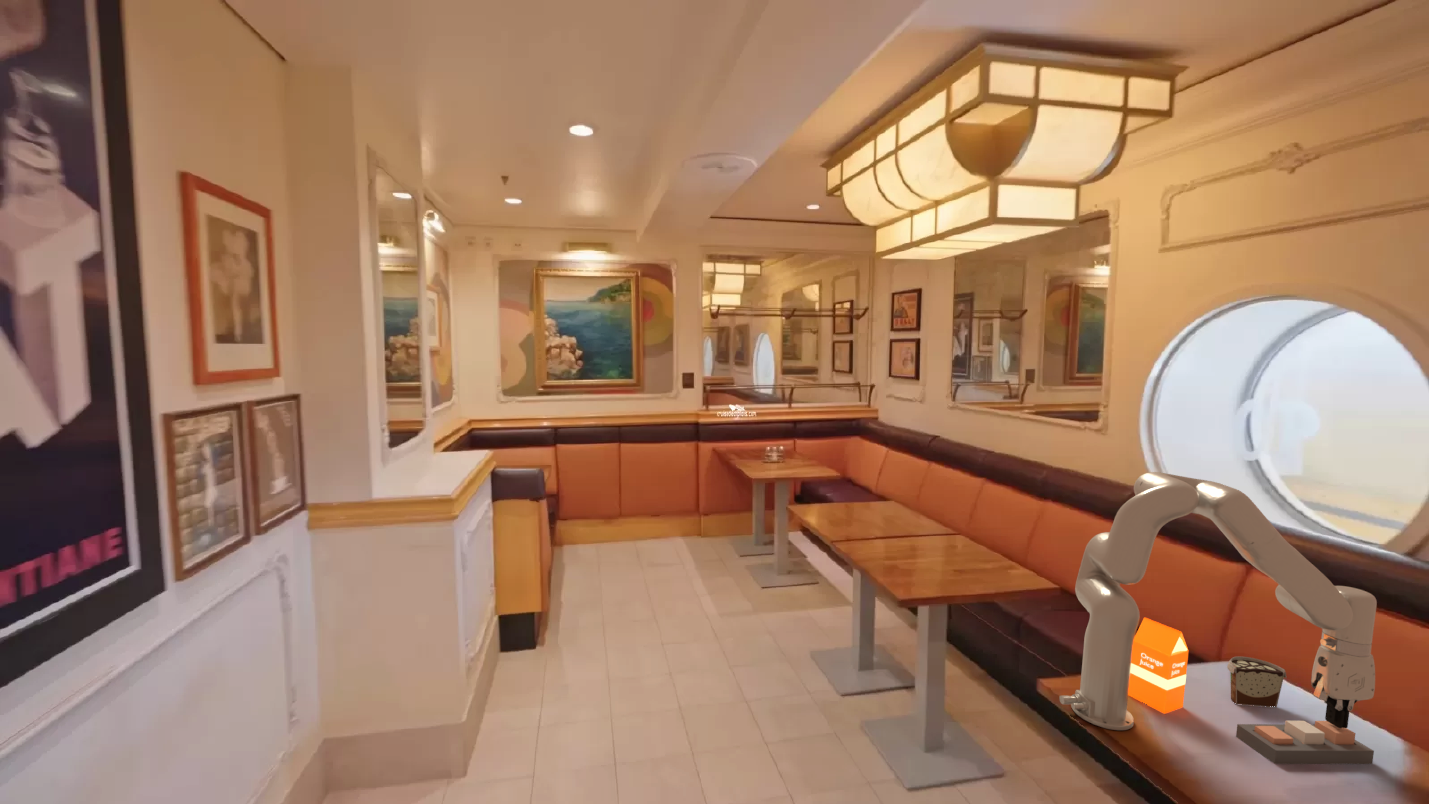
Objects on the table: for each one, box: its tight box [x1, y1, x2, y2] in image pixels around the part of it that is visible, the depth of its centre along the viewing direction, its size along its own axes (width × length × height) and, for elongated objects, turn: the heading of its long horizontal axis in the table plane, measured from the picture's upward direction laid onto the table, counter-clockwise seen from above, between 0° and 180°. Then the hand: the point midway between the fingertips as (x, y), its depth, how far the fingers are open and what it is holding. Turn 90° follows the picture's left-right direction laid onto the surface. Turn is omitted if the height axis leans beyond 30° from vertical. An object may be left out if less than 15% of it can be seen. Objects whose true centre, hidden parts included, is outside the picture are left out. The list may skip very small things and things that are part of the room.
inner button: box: [1254, 726, 1293, 744], centre depth 132 cm, size 4×4×4 cm
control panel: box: [1235, 723, 1375, 765], centre depth 133 cm, size 22×9×3 cm, turn 92°
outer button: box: [1314, 720, 1356, 745], centre depth 133 cm, size 4×4×4 cm
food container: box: [1226, 656, 1287, 708], centre depth 152 cm, size 12×6×10 cm, turn 84°
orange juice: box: [1128, 616, 1189, 715], centre depth 149 cm, size 8×9×20 cm
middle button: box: [1284, 720, 1325, 745], centre depth 132 cm, size 4×4×4 cm
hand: (1336, 724), depth 132 cm, fingers closed
